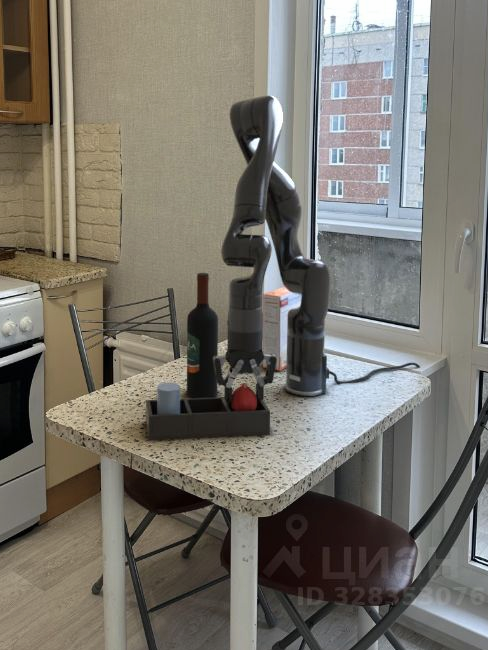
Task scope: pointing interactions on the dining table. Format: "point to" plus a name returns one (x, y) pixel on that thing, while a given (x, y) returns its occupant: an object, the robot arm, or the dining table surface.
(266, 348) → the cracker box
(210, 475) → the dining table surface
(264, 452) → the dining table surface
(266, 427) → the holder
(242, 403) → the onion
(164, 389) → the light blue cylinder
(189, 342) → the wine bottle
